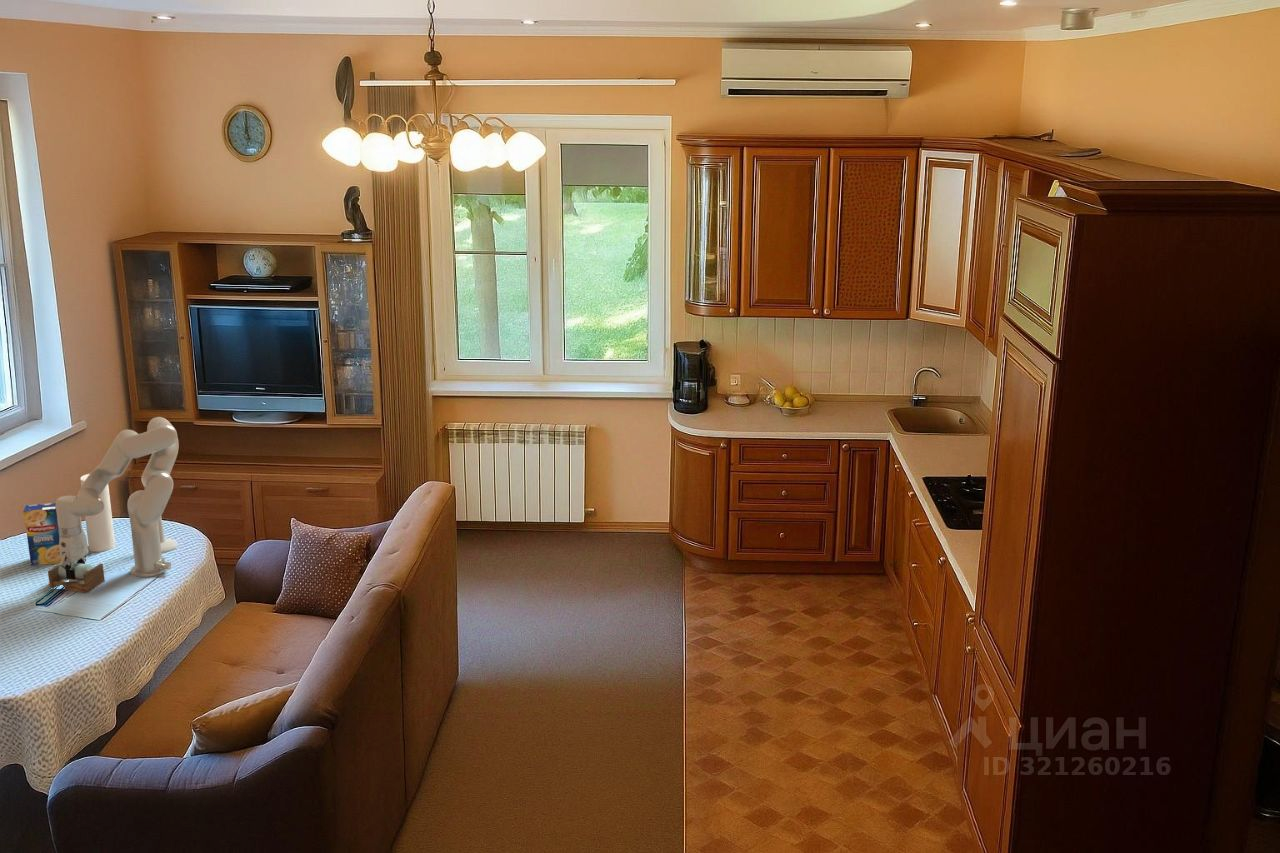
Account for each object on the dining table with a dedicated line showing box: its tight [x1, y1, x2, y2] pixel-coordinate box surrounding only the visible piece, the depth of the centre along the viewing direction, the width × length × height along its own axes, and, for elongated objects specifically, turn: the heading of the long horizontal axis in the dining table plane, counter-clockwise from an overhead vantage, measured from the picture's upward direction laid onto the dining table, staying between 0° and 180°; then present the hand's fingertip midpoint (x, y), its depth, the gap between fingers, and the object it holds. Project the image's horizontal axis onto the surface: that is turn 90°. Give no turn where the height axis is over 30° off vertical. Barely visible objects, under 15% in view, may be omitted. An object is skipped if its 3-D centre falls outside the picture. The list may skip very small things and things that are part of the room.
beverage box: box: [23, 502, 61, 566], centre depth 425 cm, size 7×11×22 cm, turn 111°
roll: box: [58, 562, 94, 579], centre depth 407 cm, size 10×6×6 cm, turn 81°
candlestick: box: [158, 516, 179, 554], centre depth 439 cm, size 13×13×30 cm
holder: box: [47, 563, 106, 594], centre depth 408 cm, size 15×10×7 cm, turn 81°
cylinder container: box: [79, 473, 116, 553], centre depth 437 cm, size 9×9×30 cm
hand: (76, 575), depth 408 cm, fingers closed on roll, 5 cm apart
